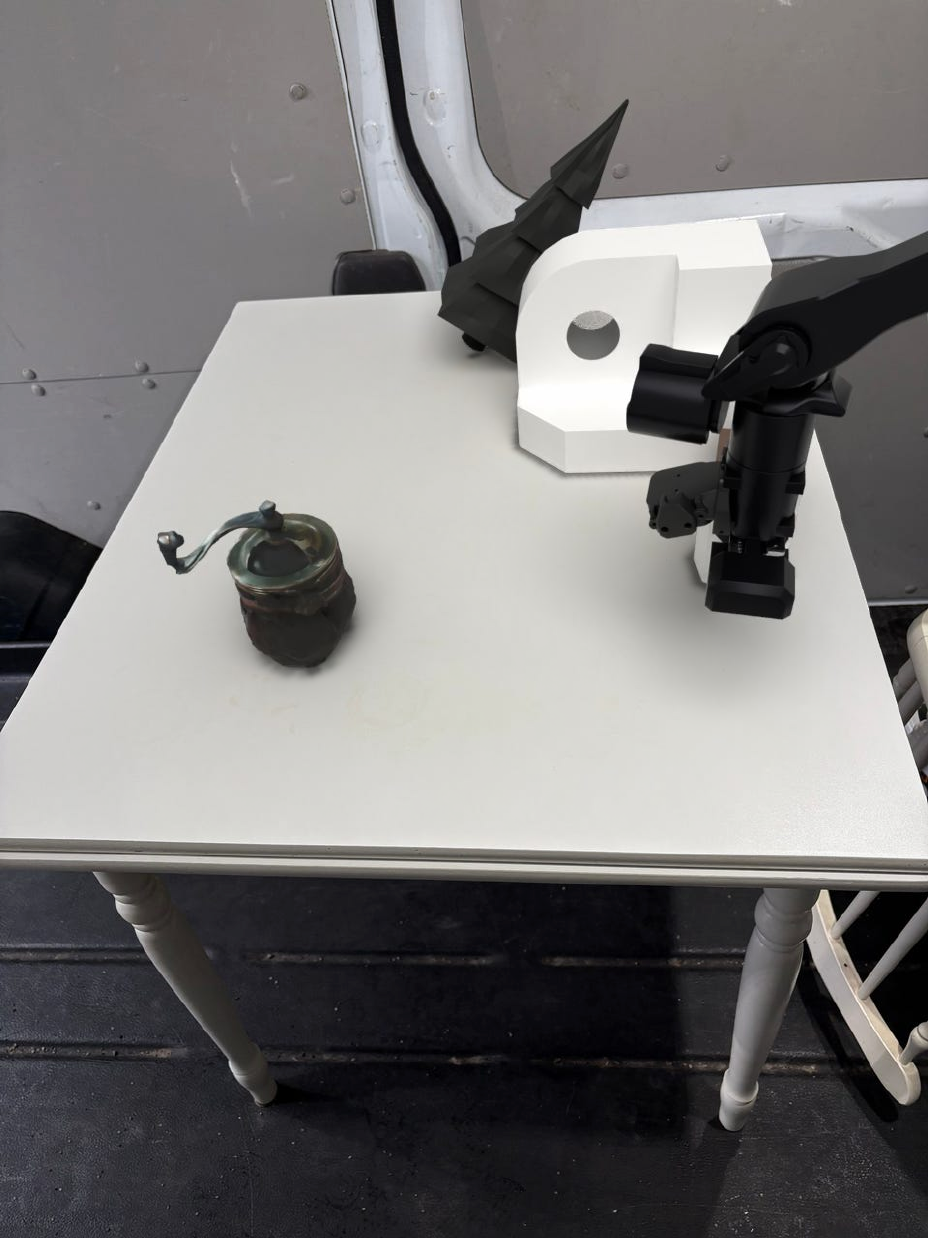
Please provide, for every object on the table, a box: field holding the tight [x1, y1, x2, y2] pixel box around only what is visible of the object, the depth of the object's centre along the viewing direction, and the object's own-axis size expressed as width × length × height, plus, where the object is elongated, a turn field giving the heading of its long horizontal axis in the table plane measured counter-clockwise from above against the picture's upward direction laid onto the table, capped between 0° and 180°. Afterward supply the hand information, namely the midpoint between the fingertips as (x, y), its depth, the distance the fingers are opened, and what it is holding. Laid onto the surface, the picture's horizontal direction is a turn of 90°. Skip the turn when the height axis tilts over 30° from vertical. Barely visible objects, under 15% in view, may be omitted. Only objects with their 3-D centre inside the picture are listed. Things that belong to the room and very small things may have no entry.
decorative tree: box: [436, 98, 630, 365], centre depth 106 cm, size 15×15×35 cm
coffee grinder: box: [156, 499, 358, 668], centre depth 74 cm, size 13×15×18 cm
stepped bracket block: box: [516, 219, 773, 474], centre depth 93 cm, size 26×17×20 cm, turn 84°
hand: (738, 600), depth 73 cm, fingers closed
